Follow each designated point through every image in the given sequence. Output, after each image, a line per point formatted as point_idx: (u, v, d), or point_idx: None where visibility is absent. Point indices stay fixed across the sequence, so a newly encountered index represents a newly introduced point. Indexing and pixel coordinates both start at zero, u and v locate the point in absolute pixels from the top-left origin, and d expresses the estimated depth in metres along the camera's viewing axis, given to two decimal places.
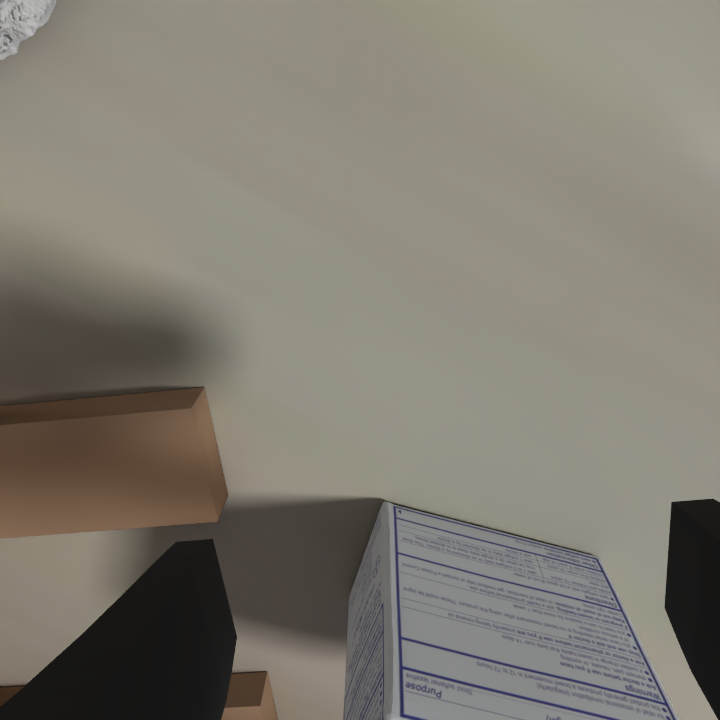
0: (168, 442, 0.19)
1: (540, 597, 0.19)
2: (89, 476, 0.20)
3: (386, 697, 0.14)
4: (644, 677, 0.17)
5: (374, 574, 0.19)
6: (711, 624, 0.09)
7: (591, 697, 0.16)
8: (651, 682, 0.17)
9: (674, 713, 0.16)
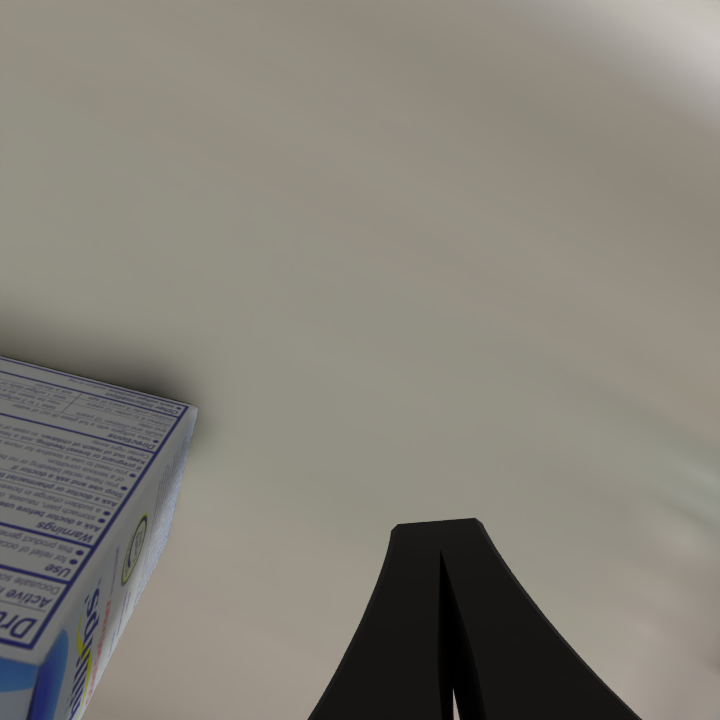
0: None
1: (25, 428, 0.14)
2: None
3: None
4: (94, 517, 0.12)
5: None
6: (451, 641, 0.09)
7: None
8: (100, 523, 0.12)
9: (94, 557, 0.11)
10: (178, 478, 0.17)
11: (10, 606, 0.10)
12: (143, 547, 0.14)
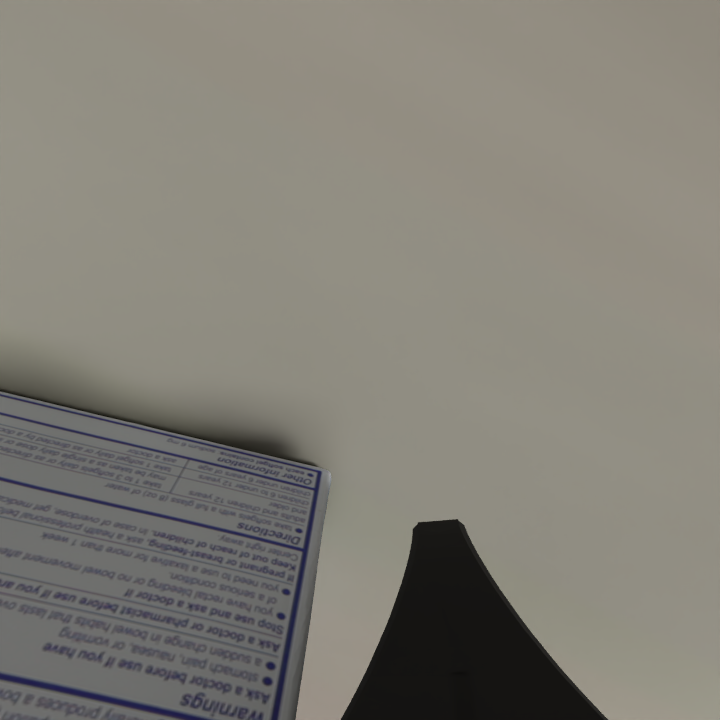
0: None
1: (129, 522, 0.10)
2: None
3: None
4: (256, 675, 0.08)
5: None
6: None
7: None
8: (267, 686, 0.08)
9: None
10: None
11: None
12: None
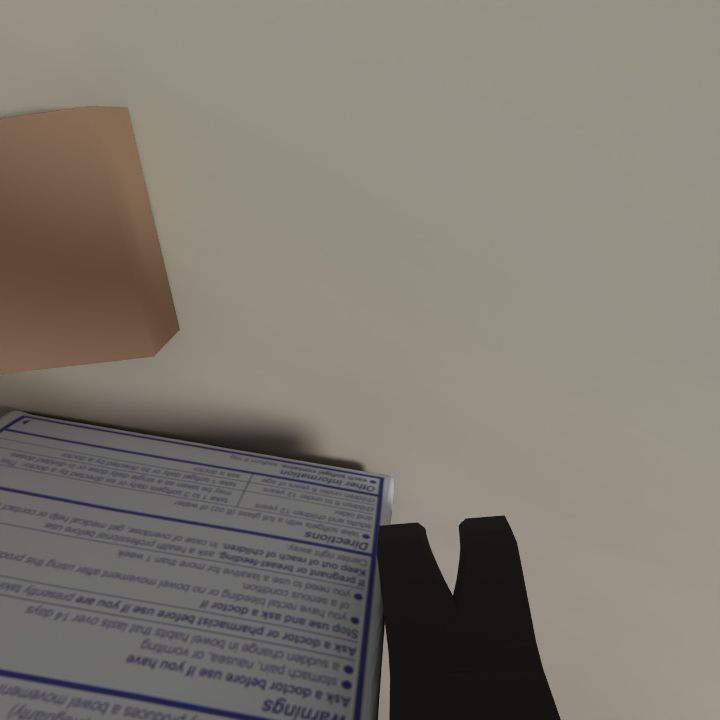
0: (51, 186, 0.10)
1: (199, 537, 0.10)
2: None
3: None
4: (335, 679, 0.08)
5: None
6: None
7: None
8: (346, 689, 0.08)
9: None
10: None
11: None
12: None
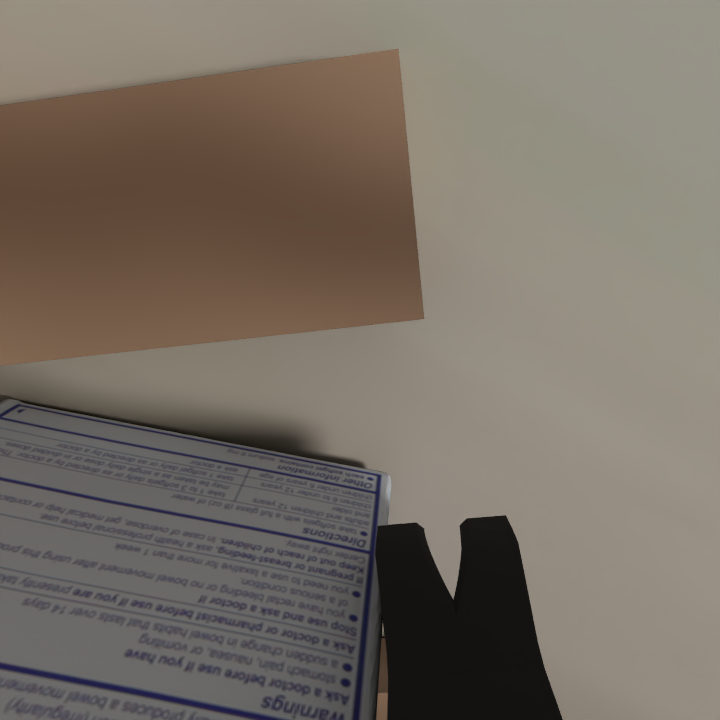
0: (343, 136, 0.10)
1: (196, 531, 0.10)
2: (179, 222, 0.10)
3: None
4: (333, 677, 0.08)
5: None
6: None
7: None
8: (345, 687, 0.08)
9: None
10: None
11: None
12: None
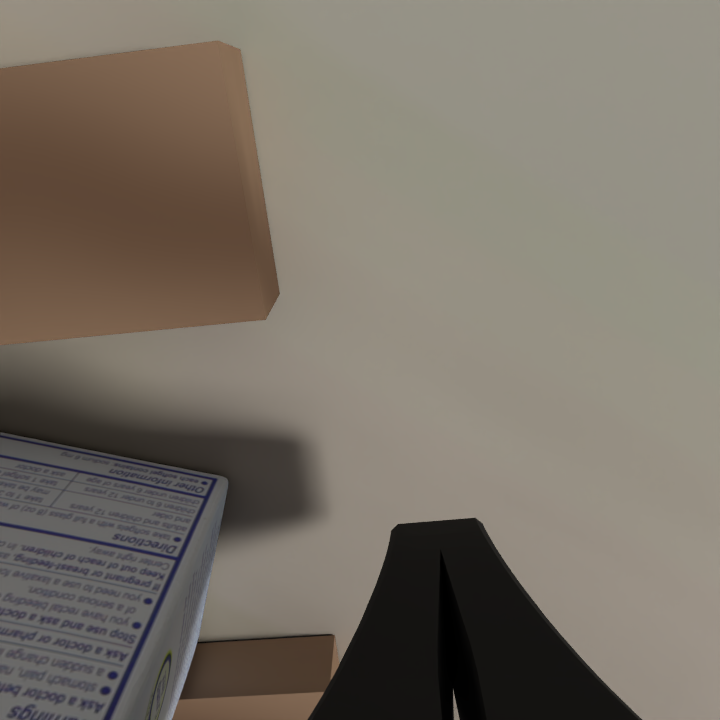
0: (168, 130, 0.09)
1: None
2: (7, 217, 0.10)
3: None
4: (94, 685, 0.08)
5: None
6: (451, 641, 0.09)
7: None
8: (103, 695, 0.08)
9: None
10: (208, 571, 0.13)
11: None
12: (168, 687, 0.10)
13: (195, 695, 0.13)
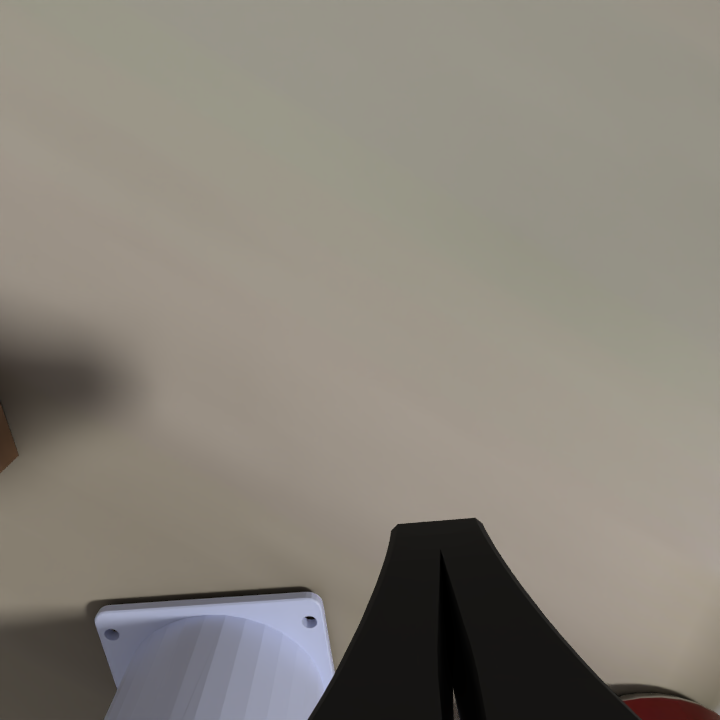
0: None
1: None
2: None
3: None
4: None
5: None
6: (451, 641, 0.09)
7: None
8: None
9: None
10: None
11: None
12: None
13: None
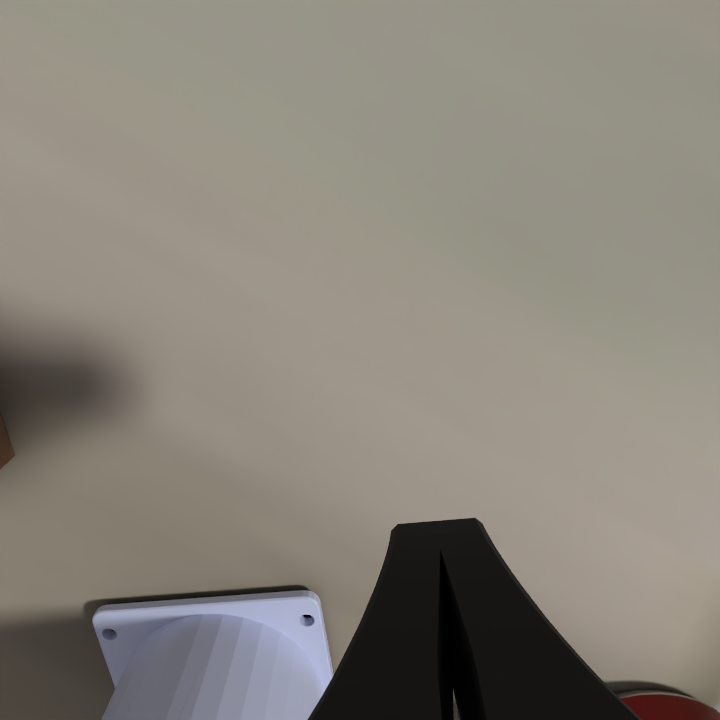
0: None
1: None
2: None
3: None
4: None
5: None
6: (451, 641, 0.09)
7: None
8: None
9: None
10: None
11: None
12: None
13: None
